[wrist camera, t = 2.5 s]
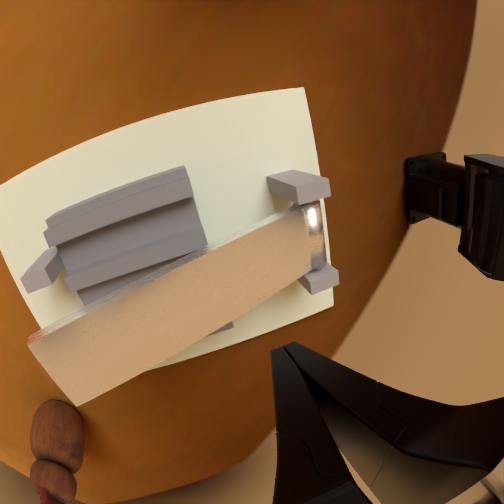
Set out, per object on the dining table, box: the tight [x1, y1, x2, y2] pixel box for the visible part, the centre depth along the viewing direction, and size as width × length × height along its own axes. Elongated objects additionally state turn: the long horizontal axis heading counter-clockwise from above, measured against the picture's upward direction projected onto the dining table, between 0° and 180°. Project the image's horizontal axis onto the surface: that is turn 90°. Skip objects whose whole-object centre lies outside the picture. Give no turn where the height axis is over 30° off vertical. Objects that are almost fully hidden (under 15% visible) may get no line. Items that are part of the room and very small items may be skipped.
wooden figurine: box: [30, 400, 84, 504], centre depth 15 cm, size 7×6×15 cm
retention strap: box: [27, 199, 327, 407], centre depth 13 cm, size 17×4×2 cm, turn 103°
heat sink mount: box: [0, 87, 339, 372], centre depth 17 cm, size 24×18×6 cm
